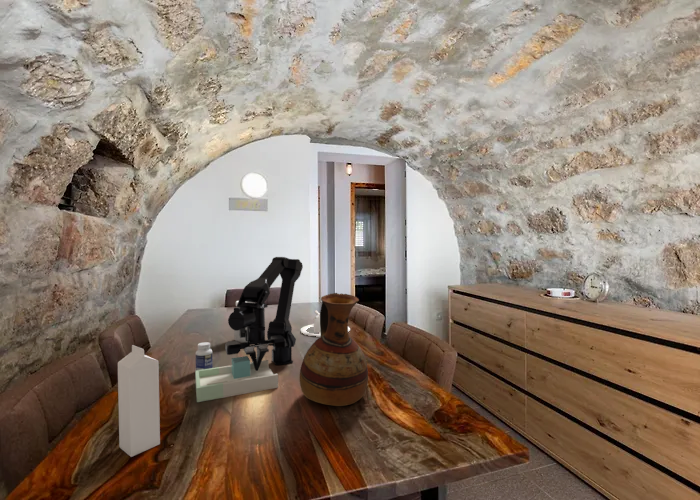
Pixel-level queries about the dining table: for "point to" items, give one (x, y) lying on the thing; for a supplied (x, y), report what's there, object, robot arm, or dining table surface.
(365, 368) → the ceramic pitcher
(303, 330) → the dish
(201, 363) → the pill bottle
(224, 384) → the box
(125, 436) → the milk
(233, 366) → the block
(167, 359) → the dining table surface
